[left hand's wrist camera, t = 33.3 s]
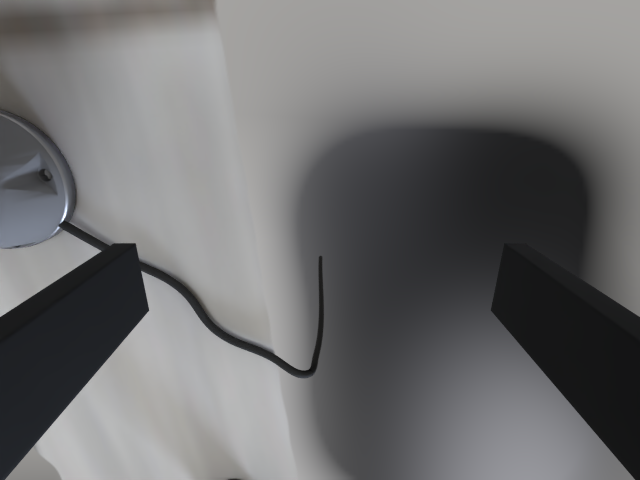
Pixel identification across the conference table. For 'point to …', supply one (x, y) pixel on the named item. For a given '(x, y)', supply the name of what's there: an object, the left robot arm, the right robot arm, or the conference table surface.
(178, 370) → the conference table surface
